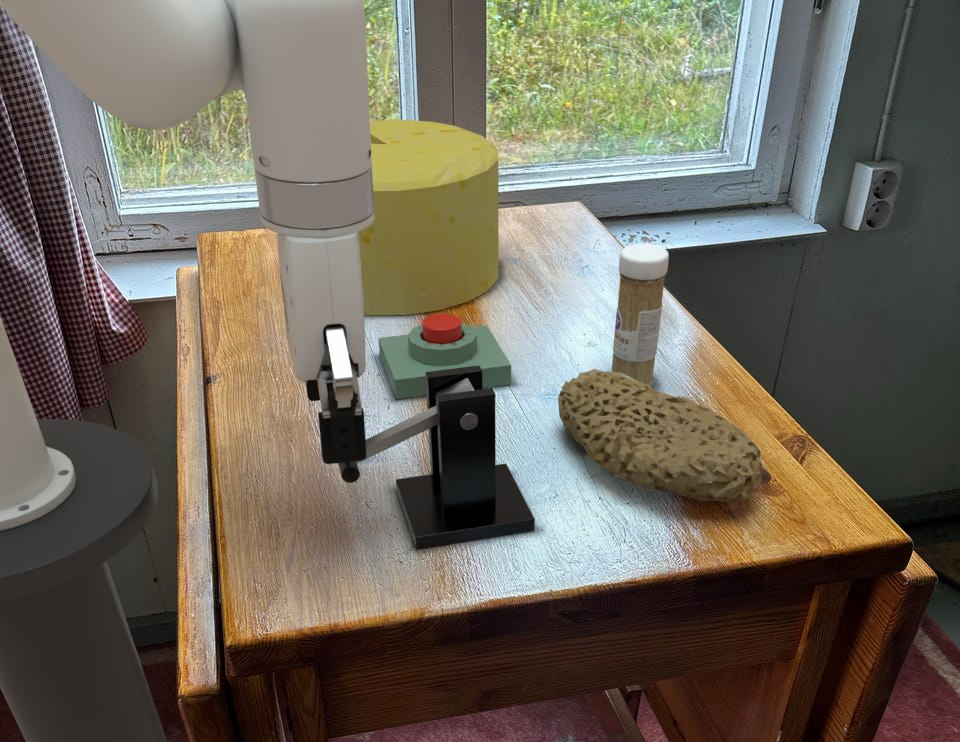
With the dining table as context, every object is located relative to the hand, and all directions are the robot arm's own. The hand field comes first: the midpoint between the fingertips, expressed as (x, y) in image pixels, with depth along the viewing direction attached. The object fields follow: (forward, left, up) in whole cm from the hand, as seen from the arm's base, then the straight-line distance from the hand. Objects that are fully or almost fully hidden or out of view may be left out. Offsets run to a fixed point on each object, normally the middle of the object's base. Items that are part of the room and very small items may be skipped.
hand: (335, 427), depth 75 cm
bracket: (+10, 0, -9) cm, 13 cm away
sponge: (+28, +2, -9) cm, 29 cm away
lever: (+6, 0, -2) cm, 6 cm away
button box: (+14, +26, -9) cm, 31 cm away
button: (+14, +26, -6) cm, 30 cm away
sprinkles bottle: (+32, +18, -9) cm, 38 cm away
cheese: (+14, +54, -9) cm, 56 cm away
